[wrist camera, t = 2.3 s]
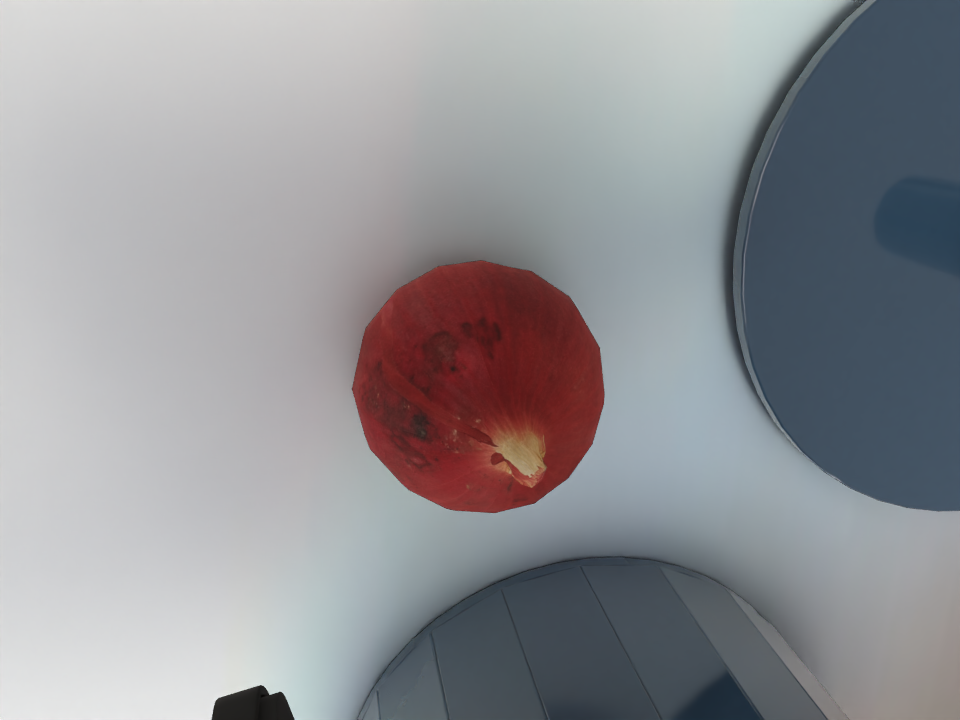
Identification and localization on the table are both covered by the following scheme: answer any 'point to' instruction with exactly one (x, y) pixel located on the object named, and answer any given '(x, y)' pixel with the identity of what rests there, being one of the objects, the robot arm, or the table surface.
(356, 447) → the table surface
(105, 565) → the table surface
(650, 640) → the pot
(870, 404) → the lid
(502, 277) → the pomegranate
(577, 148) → the table surface
